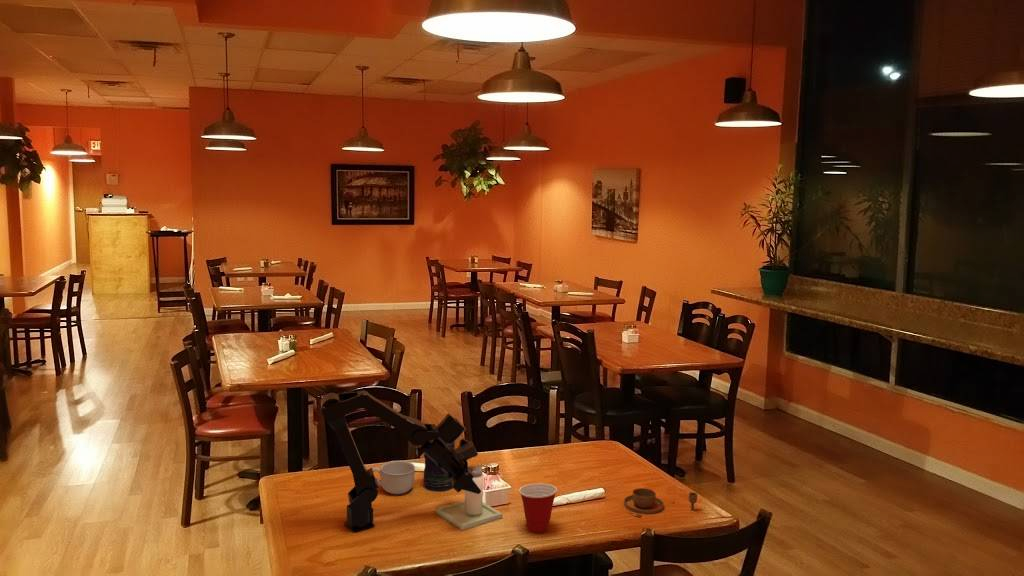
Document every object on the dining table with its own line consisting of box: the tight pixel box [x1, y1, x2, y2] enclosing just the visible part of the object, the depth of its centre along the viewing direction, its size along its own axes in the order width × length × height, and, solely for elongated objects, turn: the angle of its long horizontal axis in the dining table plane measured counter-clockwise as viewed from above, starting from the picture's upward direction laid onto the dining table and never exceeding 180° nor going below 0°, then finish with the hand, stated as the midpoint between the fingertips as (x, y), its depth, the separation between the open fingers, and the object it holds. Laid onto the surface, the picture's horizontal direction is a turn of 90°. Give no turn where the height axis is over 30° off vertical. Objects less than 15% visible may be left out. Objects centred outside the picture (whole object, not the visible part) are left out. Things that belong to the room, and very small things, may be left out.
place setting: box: [623, 487, 698, 518], centre depth 234 cm, size 18×20×6 cm
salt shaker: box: [464, 465, 484, 515], centre depth 225 cm, size 5×5×13 cm
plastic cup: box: [518, 482, 558, 534], centre depth 218 cm, size 11×11×12 cm
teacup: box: [371, 460, 416, 495], centre depth 243 cm, size 14×11×8 cm
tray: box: [435, 499, 503, 532], centre depth 226 cm, size 14×14×2 cm
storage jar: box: [423, 437, 456, 493], centre depth 247 cm, size 10×10×15 cm
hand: (478, 488), depth 226 cm, fingers closed on salt shaker, 5 cm apart
